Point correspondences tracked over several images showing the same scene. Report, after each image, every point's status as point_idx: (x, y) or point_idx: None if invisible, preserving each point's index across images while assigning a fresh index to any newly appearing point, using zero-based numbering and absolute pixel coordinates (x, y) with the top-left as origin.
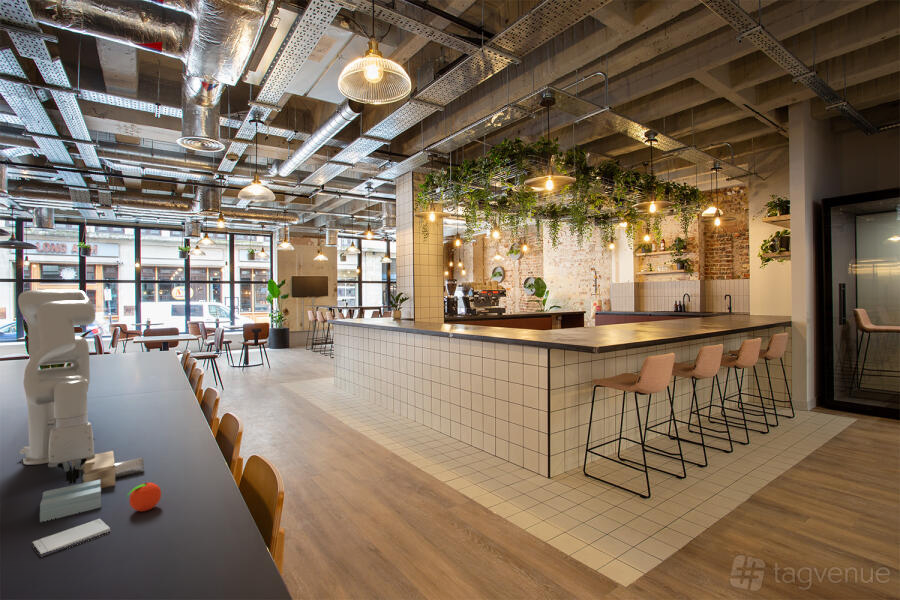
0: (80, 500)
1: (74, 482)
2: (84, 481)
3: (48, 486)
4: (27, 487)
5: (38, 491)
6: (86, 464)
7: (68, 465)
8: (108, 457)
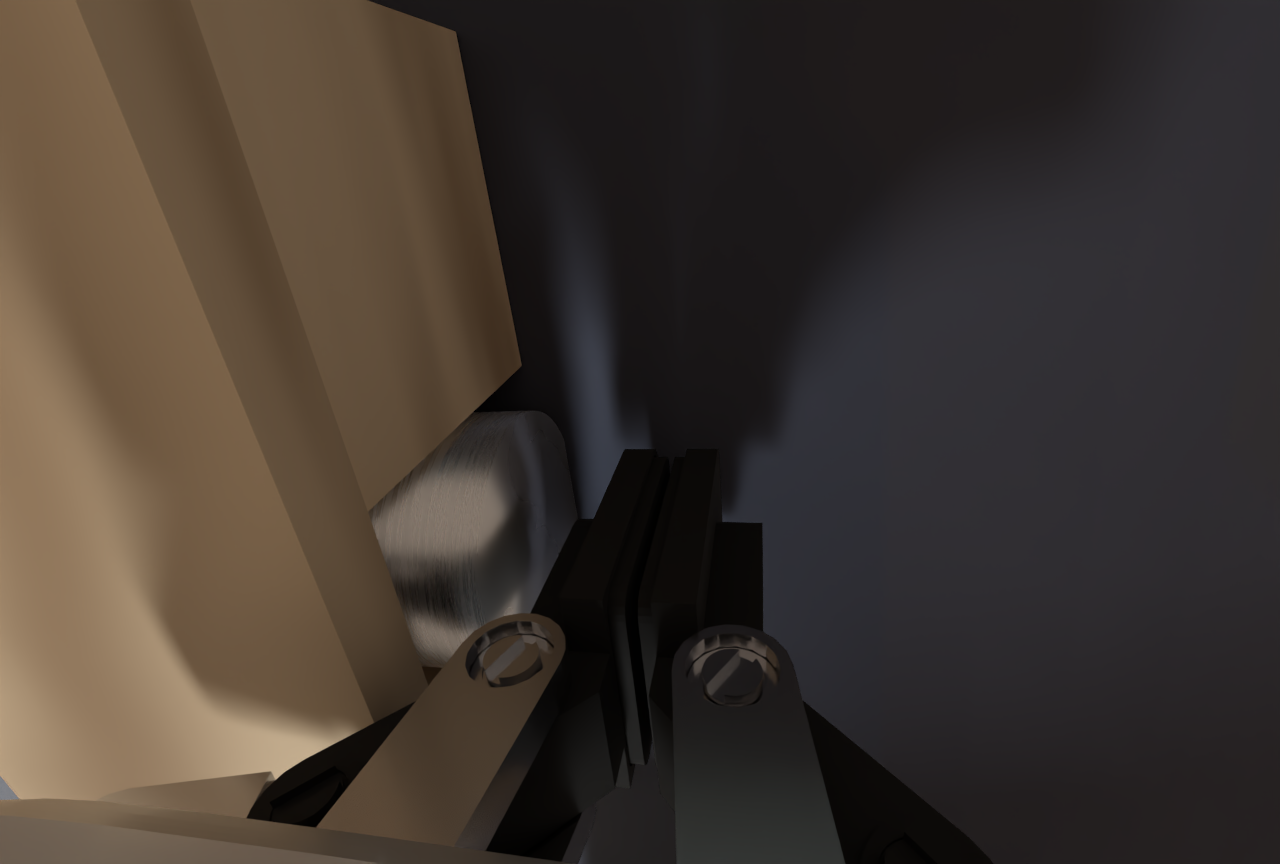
0: None
1: (644, 450)
2: (510, 412)
3: (972, 671)
4: (1198, 798)
5: (1109, 571)
6: (316, 656)
7: (683, 760)
8: (69, 782)
